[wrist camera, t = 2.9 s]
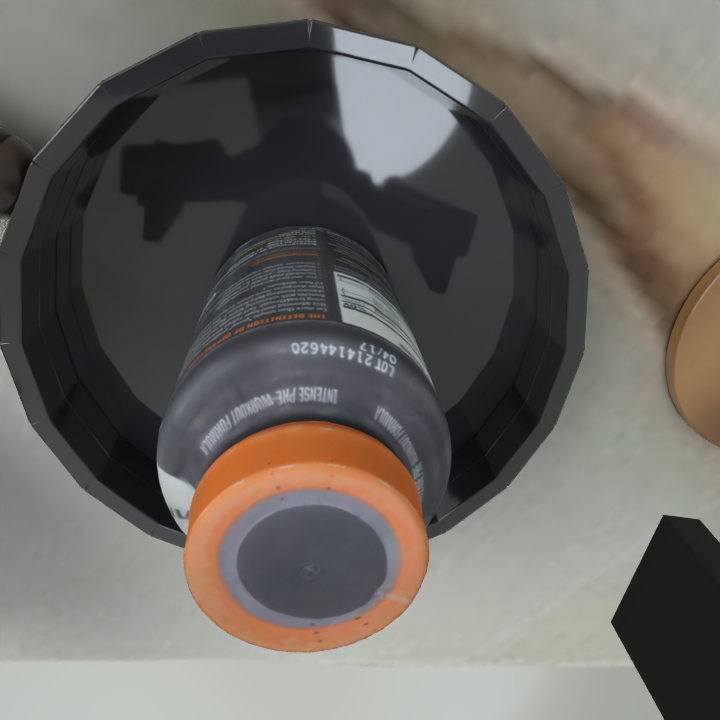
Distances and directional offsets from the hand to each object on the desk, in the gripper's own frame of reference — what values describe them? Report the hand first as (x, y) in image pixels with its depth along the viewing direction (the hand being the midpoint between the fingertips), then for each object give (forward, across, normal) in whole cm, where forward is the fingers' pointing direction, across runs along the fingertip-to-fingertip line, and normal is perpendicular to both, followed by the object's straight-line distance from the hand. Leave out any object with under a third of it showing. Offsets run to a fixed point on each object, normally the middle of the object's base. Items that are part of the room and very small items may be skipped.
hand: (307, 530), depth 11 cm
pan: (+10, 0, 0) cm, 10 cm away
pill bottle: (+10, 0, 0) cm, 10 cm away
